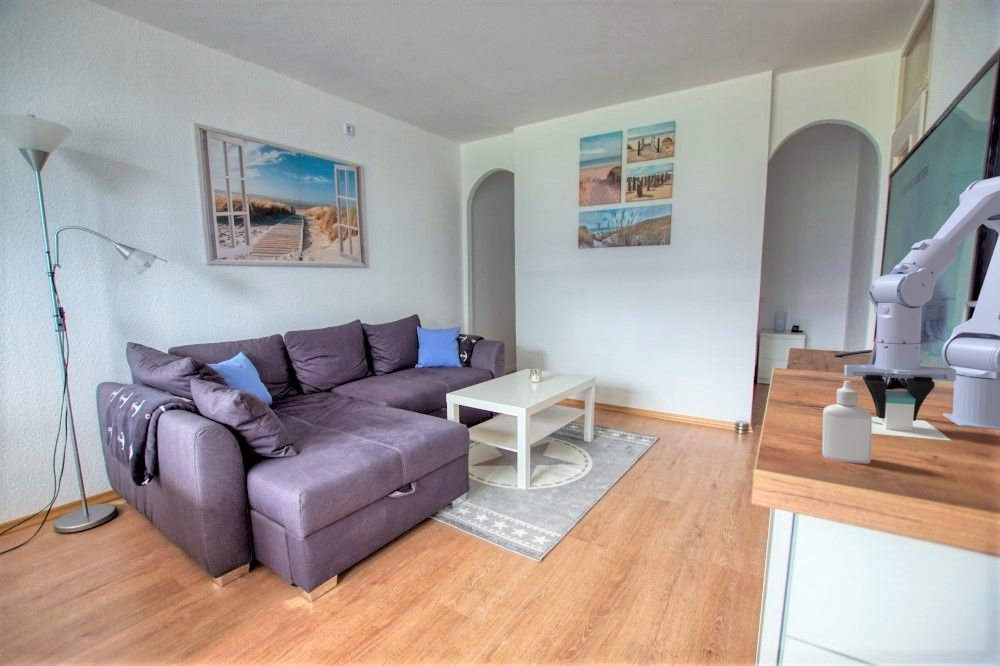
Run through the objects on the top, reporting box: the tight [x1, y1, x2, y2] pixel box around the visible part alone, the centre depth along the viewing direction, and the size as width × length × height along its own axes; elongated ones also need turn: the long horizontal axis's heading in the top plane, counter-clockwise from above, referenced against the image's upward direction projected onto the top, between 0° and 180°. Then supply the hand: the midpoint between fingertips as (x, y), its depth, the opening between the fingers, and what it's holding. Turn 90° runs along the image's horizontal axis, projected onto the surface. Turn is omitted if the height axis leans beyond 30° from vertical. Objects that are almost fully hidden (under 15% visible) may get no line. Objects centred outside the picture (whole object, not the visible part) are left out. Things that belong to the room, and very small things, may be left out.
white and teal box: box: [880, 389, 915, 431], centre depth 77 cm, size 4×4×6 cm
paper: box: [871, 416, 953, 441], centre depth 78 cm, size 12×12×1 cm
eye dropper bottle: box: [821, 380, 873, 465], centre depth 65 cm, size 4×6×12 cm
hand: (895, 418), depth 77 cm, fingers closed on white and teal box, 3 cm apart
